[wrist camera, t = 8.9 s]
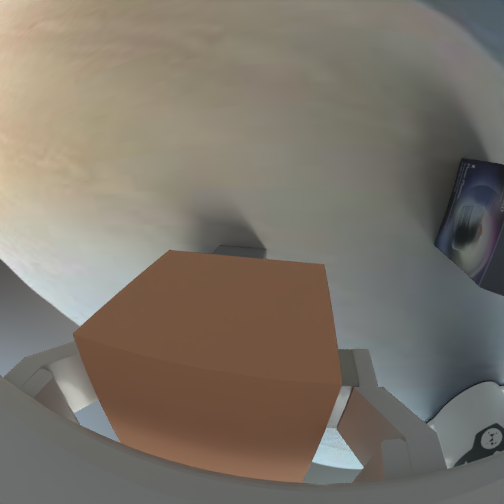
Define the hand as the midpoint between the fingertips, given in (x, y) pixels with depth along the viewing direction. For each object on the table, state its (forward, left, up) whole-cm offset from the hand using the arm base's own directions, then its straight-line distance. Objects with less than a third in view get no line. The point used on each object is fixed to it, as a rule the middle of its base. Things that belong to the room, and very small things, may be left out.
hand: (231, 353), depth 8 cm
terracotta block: (0, 0, -2) cm, 2 cm away
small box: (-7, -20, -22) cm, 30 cm away
